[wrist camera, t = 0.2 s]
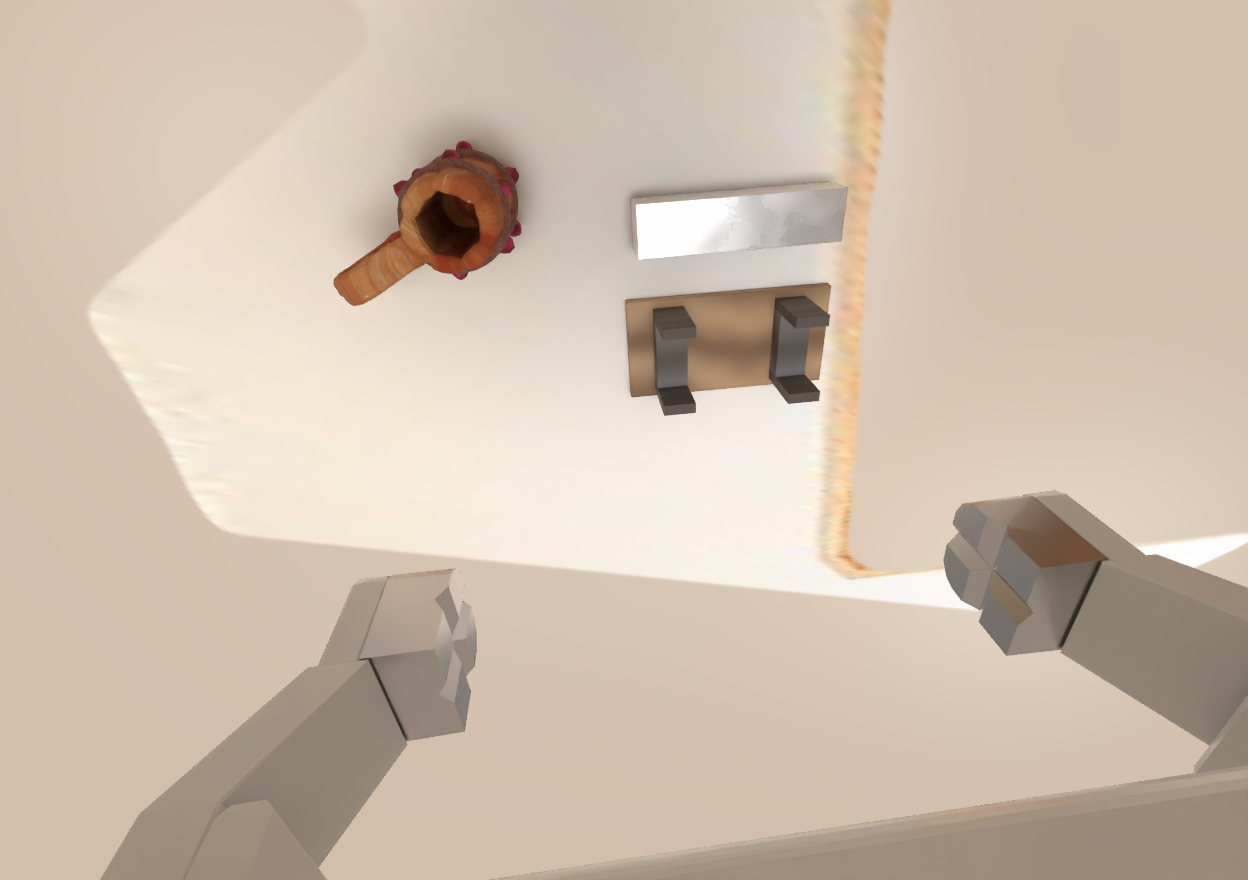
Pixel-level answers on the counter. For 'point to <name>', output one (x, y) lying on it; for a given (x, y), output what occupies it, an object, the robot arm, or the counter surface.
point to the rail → (738, 219)
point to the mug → (441, 223)
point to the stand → (727, 343)
